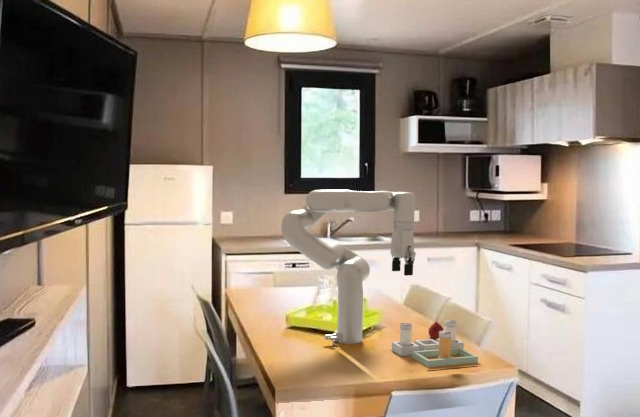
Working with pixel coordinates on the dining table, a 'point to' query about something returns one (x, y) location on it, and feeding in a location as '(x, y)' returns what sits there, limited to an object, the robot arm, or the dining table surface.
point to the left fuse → (405, 334)
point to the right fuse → (451, 329)
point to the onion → (435, 330)
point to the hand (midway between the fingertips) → (402, 273)
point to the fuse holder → (421, 346)
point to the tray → (465, 359)
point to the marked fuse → (444, 344)
